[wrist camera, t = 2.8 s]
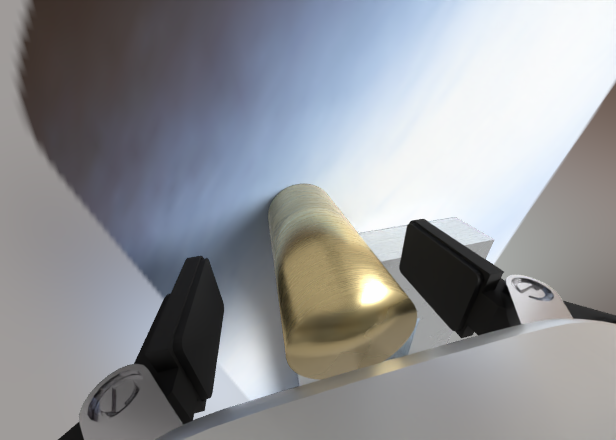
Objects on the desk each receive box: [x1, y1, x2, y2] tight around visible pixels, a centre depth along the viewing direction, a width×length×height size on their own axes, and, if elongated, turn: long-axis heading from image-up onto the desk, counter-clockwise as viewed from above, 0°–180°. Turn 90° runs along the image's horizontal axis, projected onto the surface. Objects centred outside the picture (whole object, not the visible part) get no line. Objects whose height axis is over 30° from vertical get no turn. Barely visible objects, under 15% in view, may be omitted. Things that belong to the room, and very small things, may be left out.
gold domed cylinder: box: [268, 184, 417, 380], centre depth 10 cm, size 4×4×8 cm
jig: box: [298, 217, 494, 386], centre depth 17 cm, size 18×13×6 cm
